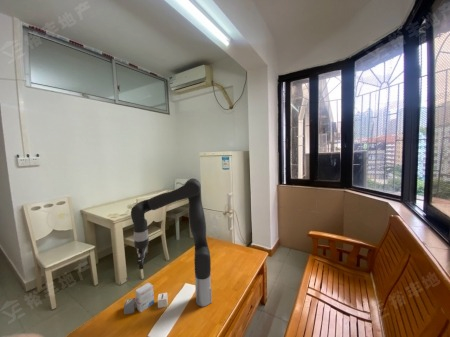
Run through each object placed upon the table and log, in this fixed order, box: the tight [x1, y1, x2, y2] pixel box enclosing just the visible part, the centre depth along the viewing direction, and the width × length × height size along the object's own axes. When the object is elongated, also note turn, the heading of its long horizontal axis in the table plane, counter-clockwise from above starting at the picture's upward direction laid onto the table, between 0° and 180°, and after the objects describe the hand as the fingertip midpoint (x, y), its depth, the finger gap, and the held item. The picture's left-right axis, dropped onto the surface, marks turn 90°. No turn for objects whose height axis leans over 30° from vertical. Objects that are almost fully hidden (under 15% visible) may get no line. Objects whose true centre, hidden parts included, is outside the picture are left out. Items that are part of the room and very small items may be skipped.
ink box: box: [134, 282, 155, 313], centre depth 111 cm, size 9×5×12 cm, turn 141°
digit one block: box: [157, 292, 169, 309], centre depth 112 cm, size 5×5×5 cm
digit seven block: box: [123, 297, 137, 315], centre depth 108 cm, size 5×5×5 cm
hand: (142, 264), depth 108 cm, fingers open, 8 cm apart
